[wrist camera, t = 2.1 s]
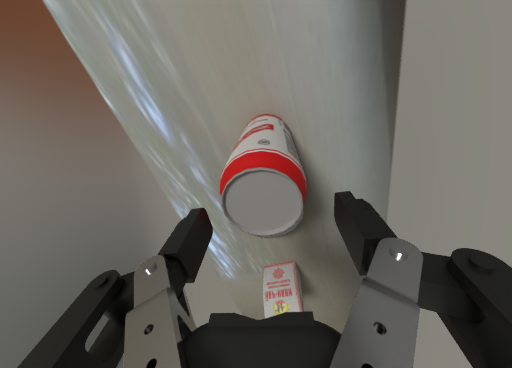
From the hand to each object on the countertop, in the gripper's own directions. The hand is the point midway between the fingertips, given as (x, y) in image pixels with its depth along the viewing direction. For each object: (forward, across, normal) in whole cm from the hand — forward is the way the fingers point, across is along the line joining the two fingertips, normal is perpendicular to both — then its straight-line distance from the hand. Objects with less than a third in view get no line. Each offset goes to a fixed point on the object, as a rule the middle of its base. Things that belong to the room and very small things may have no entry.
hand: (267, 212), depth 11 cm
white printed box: (+17, +2, +28) cm, 33 cm away
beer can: (+16, 0, -1) cm, 16 cm away
